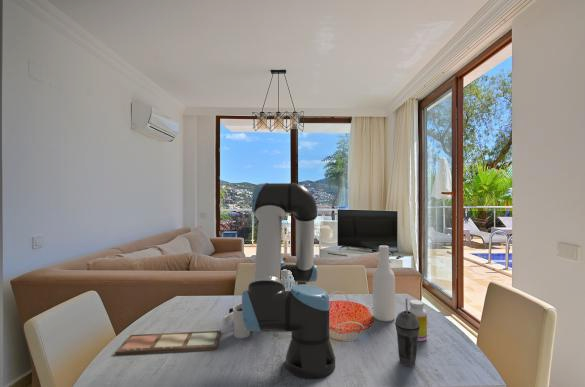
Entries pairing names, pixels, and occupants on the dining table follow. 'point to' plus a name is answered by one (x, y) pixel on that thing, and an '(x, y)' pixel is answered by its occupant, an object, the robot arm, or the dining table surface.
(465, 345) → the dining table surface
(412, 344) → the beverage cup
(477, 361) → the dining table surface
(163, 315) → the dining table surface
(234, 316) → the white coffee cup
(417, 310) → the supplement bottle
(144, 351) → the tile board
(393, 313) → the white bottle
